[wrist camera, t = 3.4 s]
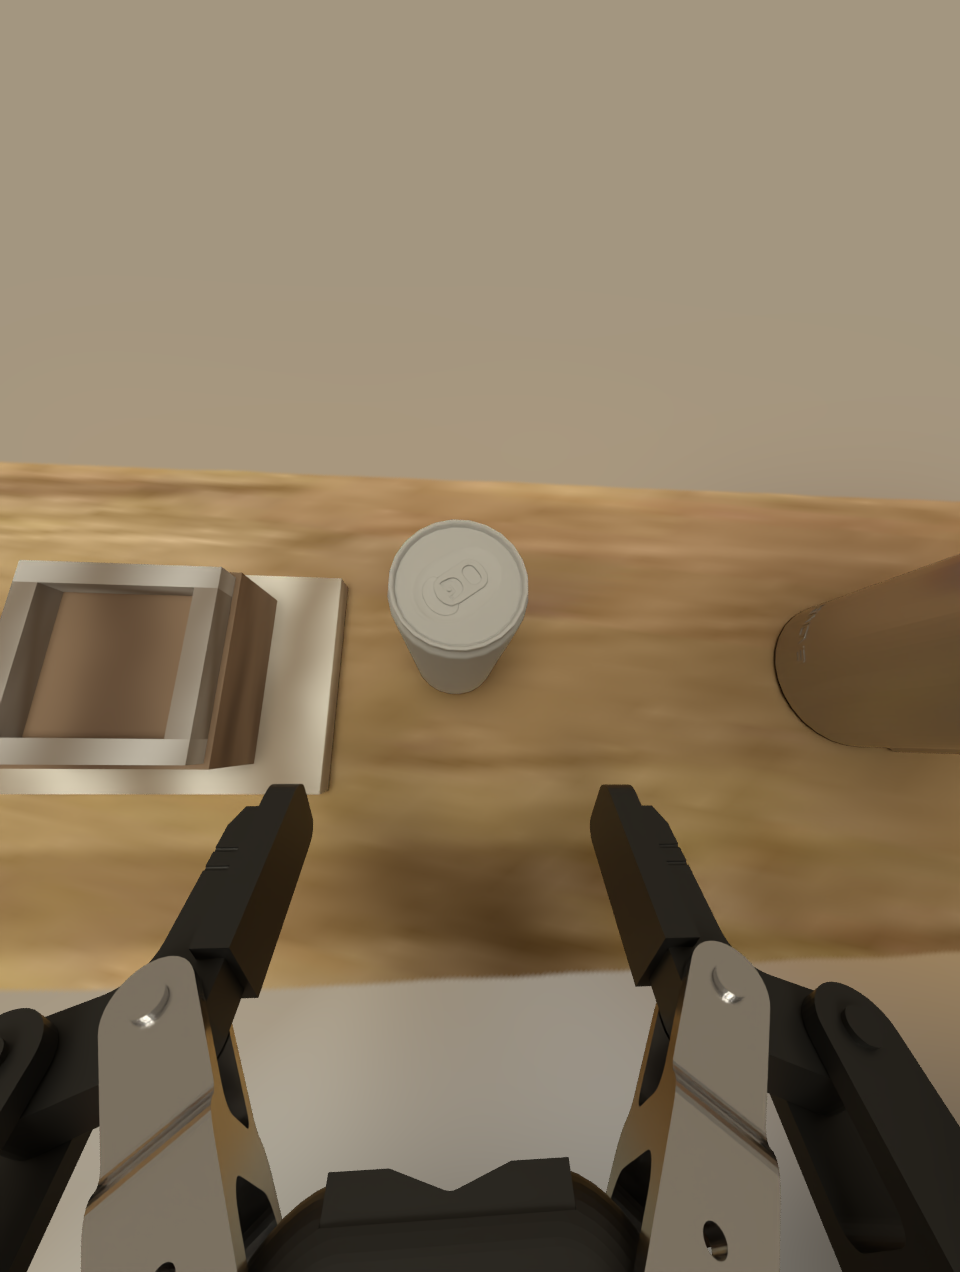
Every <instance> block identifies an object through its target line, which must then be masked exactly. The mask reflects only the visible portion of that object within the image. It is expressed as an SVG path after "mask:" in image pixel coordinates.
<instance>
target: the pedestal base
mask: <svg viewBox="0 0 960 1272" xmlns="http://www.w3.org/2000/svg"><path fill="white" fill-rule="evenodd" d="M347 592H348V587H347V586H346V584H345V583H344V581H343V580H342V578H313V577H284V576H255V575H244V574H243V573H232V572H228V571H226V570H225V569H224V568H222V567H204V566H176V565H148V564H119V563H91V562H63V561H35V560H19V563H18V566H17V569H16V572H15V575H14V578H13V581H12V584H11V587H10V590H9V594H8V597H7V600H6V603H5V606H4V609H3V612H2V615H1V618H0V794H265V793H266V791H267V789H268V788H269V786H270V785H272V784H303V785H304V787H305V791H306V794H321V793H324V792H326V791H328V786H329V776H330V766H331V756H332V746H333V735H334V725H335V715H336V705H337V694H338V684H339V674H340V664H341V654H342V643H343V633H344V623H345V613H346V602H347Z"/></svg>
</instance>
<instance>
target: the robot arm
mask: <svg viewBox="0 0 960 1272" xmlns="http://www.w3.org/2000/svg"><path fill="white" fill-rule="evenodd" d="M775 665H776V670H777V676H778V680H779V683H780V686H781V688H782V691H783V693H784V695H785V697H786V699H787V700H788V702H789V704H790V705H791V707H792V709H793V710H794V711H795V712H796V713H797V715H798V716H799V717H800V718H801V719H802V720H803V721H804V722H805V723H806V724H807V725H808V726H810V727H811V728H812V729H813V730H814V731H816V732H817V733H819V734H821V735H822V736H824V737H826V738H828V739H830V740H831V741H835V742H838V743H841V744H844V745H847V746H857V747H884V748H889V749H891V750H893V751H895V752H915V753H946V754H960V554H958V555H955V556H953V557H950V558H947V559H944V560H942V561H939V562H936V563H933V564H931V565H928V566H925V567H922V568H919V569H917V570H914V571H911V572H908V573H906V574H903V575H900V576H897V577H895V578H892V579H889V580H886V581H883V582H881V583H878V584H875V585H872V586H870V587H867V588H864V589H861V590H859V591H856V592H853V593H850V594H848V595H845V596H842V597H839V598H837V599H834V600H831V601H828V602H825V603H823V604H820V605H817V606H814V607H812V608H809V609H806V610H804V611H802V612H800V613H799V614H797V615H796V616H794V617H793V618H792V619H791V620H790V621H789V622H788V623H787V624H786V625H785V627H784V629H783V631H782V633H781V634H780V636H779V639H778V643H777V647H776V661H775ZM312 832H313V818H312V814H311V810H310V806H309V802H308V798H307V794H306V791H305V787H304V785H303V784H272V785H270V786H269V788H268V789H267V791H266V793H265V795H264V797H263V799H262V801H261V803H260V805H259V806H246V807H245V808H244V809H243V810H242V811H241V812H240V813H239V814H238V815H237V816H236V817H235V818H234V820H233V821H232V822H231V823H230V824H229V825H228V826H227V828H226V829H225V831H224V833H223V835H222V837H221V839H220V840H219V842H218V844H217V846H216V850H215V852H213V853H212V855H211V857H210V859H209V861H208V863H207V864H206V869H205V870H204V871H203V872H202V874H201V875H200V877H199V879H198V881H197V883H196V885H195V886H194V888H193V890H192V892H191V894H190V896H189V897H188V899H187V901H186V903H185V905H184V907H183V908H182V910H181V912H180V914H179V916H178V918H177V919H176V921H175V923H174V925H173V927H172V929H171V930H170V932H169V934H168V936H167V938H166V940H165V941H164V943H163V945H162V946H161V948H160V950H159V951H158V952H157V954H156V955H155V956H154V958H153V959H152V960H151V961H150V962H149V963H148V964H147V965H145V966H143V967H142V968H140V969H139V970H138V971H136V972H135V973H134V974H133V975H131V976H130V977H129V978H128V979H127V980H126V981H125V982H124V983H123V984H122V985H121V986H120V987H119V988H117V989H115V990H113V991H112V992H109V993H107V994H105V995H102V996H100V997H97V998H95V999H92V1000H89V1001H87V1002H84V1003H81V1004H79V1005H76V1006H73V1007H71V1008H68V1009H65V1010H63V1011H60V1012H57V1013H55V1014H52V1015H49V1016H47V1017H44V1016H43V1015H41V1014H40V1013H38V1012H37V1011H36V1010H33V1009H30V1008H21V1009H15V1010H12V1011H9V1012H6V1013H3V1014H1V1015H0V1272H27V1270H28V1268H29V1266H30V1264H31V1261H32V1259H33V1257H34V1255H35V1253H36V1250H37V1248H38V1246H39V1244H40V1242H41V1240H42V1238H43V1236H44V1233H45V1231H46V1229H47V1227H48V1225H49V1223H50V1220H51V1218H52V1216H53V1214H54V1212H55V1210H56V1207H57V1205H58V1203H59V1201H60V1199H61V1197H62V1194H63V1192H64V1190H65V1188H66V1186H67V1183H68V1181H69V1179H70V1177H71V1175H72V1173H73V1171H74V1169H75V1166H76V1164H77V1162H78V1160H79V1158H80V1156H81V1153H82V1151H83V1149H84V1147H85V1145H86V1143H87V1140H88V1138H89V1136H90V1134H91V1132H92V1130H93V1129H95V1128H97V1127H99V1126H100V1178H99V1183H98V1186H97V1189H96V1191H95V1192H94V1194H93V1195H92V1196H91V1198H90V1199H89V1201H88V1204H87V1207H86V1211H85V1215H84V1221H83V1227H82V1241H81V1272H780V1211H781V1210H780V1207H781V1185H780V1174H779V1168H778V1163H777V1160H776V1156H775V1155H774V1152H773V1151H772V1150H771V1149H770V1147H769V1145H768V1142H767V1138H766V1106H767V1093H769V1094H770V1095H771V1098H772V1100H773V1103H774V1105H775V1108H776V1110H777V1113H778V1115H779V1118H780V1120H781V1123H782V1125H783V1127H784V1130H785V1132H786V1135H787V1137H788V1140H789V1142H790V1145H791V1147H792V1149H793V1152H794V1154H795V1157H796V1159H797V1162H798V1164H799V1167H800V1169H801V1171H802V1174H803V1176H804V1179H805V1181H806V1184H807V1186H808V1189H809V1191H810V1194H811V1196H812V1199H813V1201H814V1203H815V1206H816V1208H817V1211H818V1213H819V1216H820V1218H821V1221H822V1223H823V1226H824V1228H825V1230H826V1233H827V1235H828V1238H829V1240H830V1243H831V1245H832V1248H833V1250H834V1252H835V1255H836V1257H837V1260H838V1262H839V1265H840V1267H841V1270H842V1272H960V1127H959V1125H958V1124H957V1122H956V1121H955V1119H954V1117H953V1116H952V1114H951V1113H950V1111H949V1110H948V1108H947V1107H946V1105H945V1104H944V1102H943V1101H942V1099H941V1098H940V1096H939V1095H938V1093H937V1091H936V1090H935V1088H934V1087H933V1085H932V1084H931V1082H930V1081H929V1079H928V1078H927V1076H926V1074H925V1073H924V1072H923V1070H922V1068H921V1067H920V1065H919V1064H918V1062H917V1061H916V1059H915V1058H914V1056H913V1055H912V1053H911V1051H910V1050H909V1048H908V1047H907V1045H906V1044H905V1042H904V1041H903V1039H902V1038H901V1036H900V1035H899V1033H898V1032H897V1030H896V1029H895V1027H894V1026H893V1024H892V1023H891V1022H890V1020H889V1019H888V1018H887V1017H886V1016H885V1014H884V1013H883V1012H882V1011H881V1010H880V1009H879V1008H878V1007H877V1006H876V1005H875V1004H874V1003H872V1002H871V1001H870V1000H869V999H868V998H866V997H865V996H864V995H862V994H861V993H859V992H858V991H856V990H854V989H853V988H851V987H849V986H846V985H844V984H841V983H837V982H826V983H823V984H821V985H820V986H819V987H818V988H817V989H815V990H811V989H808V988H805V987H802V986H799V985H797V984H794V983H791V982H788V981H785V980H782V979H780V978H777V977H774V976H771V975H769V974H766V973H764V972H762V971H760V970H758V969H756V968H755V967H754V966H753V965H752V964H751V963H750V962H749V961H748V960H747V959H746V958H745V957H744V956H743V955H742V954H741V953H740V952H738V951H737V950H735V949H734V948H732V946H731V945H730V944H729V943H728V941H727V940H726V938H725V937H724V935H723V934H722V932H721V930H720V928H719V926H718V924H717V922H716V920H715V918H714V916H713V914H712V912H711V910H710V908H709V906H708V904H707V902H706V900H705V898H704V896H703V893H702V891H701V889H700V887H699V885H698V883H697V881H696V879H695V877H694V875H693V873H692V871H691V869H690V867H689V865H687V864H686V859H685V857H684V855H683V853H682V851H681V849H680V848H679V847H678V843H677V841H676V839H675V837H674V835H673V833H672V831H671V829H670V827H669V824H668V823H667V822H666V821H665V820H664V818H663V817H662V816H661V815H660V814H659V813H658V812H657V811H656V810H655V809H654V808H653V806H641V803H640V801H639V799H638V797H637V794H636V792H635V790H634V789H633V787H632V786H631V785H602V786H601V787H600V790H599V793H598V796H597V799H596V803H595V806H594V809H593V812H592V815H591V820H590V832H591V839H592V843H593V846H594V850H595V853H596V856H597V859H598V863H599V866H600V869H601V873H602V876H603V879H604V883H605V886H606V889H607V893H608V896H609V899H610V903H611V906H612V909H613V913H614V916H615V919H616V923H617V926H618V929H619V933H620V936H621V939H622V943H623V946H624V949H625V953H626V956H627V959H628V963H629V966H630V969H631V973H632V976H633V979H634V982H635V986H652V989H653V993H654V995H655V999H656V1002H657V1003H656V1006H655V1009H654V1014H653V1018H652V1022H651V1026H650V1031H649V1035H648V1040H647V1043H646V1048H645V1052H644V1056H643V1061H642V1065H641V1069H640V1074H639V1078H638V1082H637V1087H636V1091H635V1095H634V1099H633V1103H632V1106H631V1109H630V1112H629V1115H628V1117H627V1120H626V1122H625V1125H624V1127H623V1130H622V1133H621V1136H620V1139H619V1142H618V1146H617V1150H616V1154H615V1158H614V1162H613V1166H612V1170H611V1174H610V1178H609V1182H608V1187H607V1191H606V1193H605V1192H603V1191H602V1190H601V1189H600V1188H598V1187H597V1186H596V1185H595V1184H593V1183H592V1182H591V1181H589V1180H587V1179H585V1178H584V1177H582V1176H580V1175H579V1174H577V1173H574V1172H572V1171H570V1165H569V1158H568V1157H563V1158H547V1159H533V1160H517V1161H510V1162H508V1163H506V1164H504V1165H502V1166H501V1167H499V1168H497V1169H495V1170H493V1171H491V1172H489V1173H487V1174H485V1175H483V1176H481V1177H479V1178H478V1179H476V1180H474V1181H472V1182H470V1183H468V1184H466V1185H464V1186H462V1187H461V1188H458V1189H456V1190H454V1191H446V1190H442V1189H440V1188H437V1187H435V1186H432V1185H430V1184H427V1183H425V1182H422V1181H419V1180H417V1179H414V1178H412V1177H409V1176H407V1175H404V1174H402V1173H399V1172H396V1171H394V1170H391V1169H376V1170H361V1171H345V1172H329V1173H328V1178H327V1184H326V1187H324V1188H322V1189H320V1190H319V1191H317V1192H315V1193H314V1194H312V1195H311V1196H310V1197H308V1198H307V1199H305V1200H304V1201H302V1202H301V1203H300V1204H299V1205H298V1206H296V1207H295V1208H294V1209H293V1210H292V1211H291V1212H290V1213H289V1214H288V1215H286V1216H285V1217H284V1218H283V1219H282V1216H281V1213H280V1208H279V1203H278V1199H277V1195H276V1191H275V1186H274V1182H273V1178H272V1173H271V1170H270V1166H269V1163H268V1159H267V1156H266V1153H265V1150H264V1147H263V1144H262V1142H261V1140H260V1137H259V1135H258V1132H257V1129H256V1126H255V1122H254V1118H253V1113H252V1109H251V1105H250V1101H249V1096H248V1092H247V1087H246V1082H245V1078H244V1074H243V1069H242V1065H241V1060H240V1056H239V1052H238V1047H237V1043H236V1038H235V1035H234V1030H233V1025H232V1022H233V1019H234V1016H235V1014H236V1011H237V1008H238V1005H239V1003H240V999H241V998H258V997H259V994H260V991H261V988H262V985H263V982H264V979H265V976H266V973H267V970H268V967H269V964H270V961H271V958H272V955H273V952H274V949H275V946H276V943H277V940H278V938H279V935H280V932H281V929H282V926H283V923H284V920H285V917H286V914H287V911H288V908H289V905H290V902H291V899H292V896H293V893H294V890H295V887H296V884H297V881H298V878H299V875H300V872H301V869H302V866H303V863H304V860H305V857H306V854H307V851H308V848H309V845H310V842H311V838H312ZM709 1247H711V1249H712V1255H711V1254H710V1253H709V1251H708V1249H707V1248H709Z"/></svg>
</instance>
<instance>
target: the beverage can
mask: <svg viewBox="0 0 960 1272" xmlns="http://www.w3.org/2000/svg"><path fill="white" fill-rule="evenodd" d="M388 601H389V606H390V610H391V615H392V617H393V619H394V621H395V623H396V625H397V627H398V629H399V631H400V633H401V635H402V637H403V639H404V641H405V643H406V645H407V647H408V649H409V651H410V653H411V655H412V657H413V659H414V661H415V663H416V665H417V667H418V669H419V671H420V673H421V675H422V677H423V678H424V679H425V680H426V681H427V682H428V683H429V684H430V685H431V686H432V687H434V688H436V689H437V690H439V691H442V692H446V693H449V694H461V693H465V692H469V691H472V690H474V689H475V688H477V687H479V686H480V685H481V684H482V683H483V682H484V681H485V680H486V678H487V677H488V675H489V674H490V672H491V670H492V668H493V667H494V665H495V663H496V662H497V660H498V659H499V657H500V656H501V654H502V653H503V652H504V650H505V649H506V647H507V645H508V644H509V642H510V641H511V639H512V637H513V636H514V634H515V632H516V631H517V629H518V627H519V626H520V624H521V622H522V621H523V618H524V615H525V611H526V607H527V603H528V575H527V572H526V569H525V565H524V562H523V560H522V558H521V556H520V555H519V553H518V551H517V550H516V548H515V547H514V545H513V544H512V543H511V542H509V541H508V540H507V539H506V538H505V537H504V536H503V535H502V534H501V533H499V532H497V531H496V530H494V529H492V528H490V527H489V526H487V525H484V524H480V523H477V522H473V521H470V520H447V521H442V522H437V523H434V524H431V525H429V526H427V527H425V528H423V529H421V530H419V531H417V532H416V533H415V534H414V535H412V536H411V537H410V538H409V539H408V540H406V541H405V543H404V544H403V545H402V547H401V548H400V549H399V551H398V552H397V554H396V555H395V558H394V560H393V563H392V566H391V569H390V571H389V584H388Z"/></svg>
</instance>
